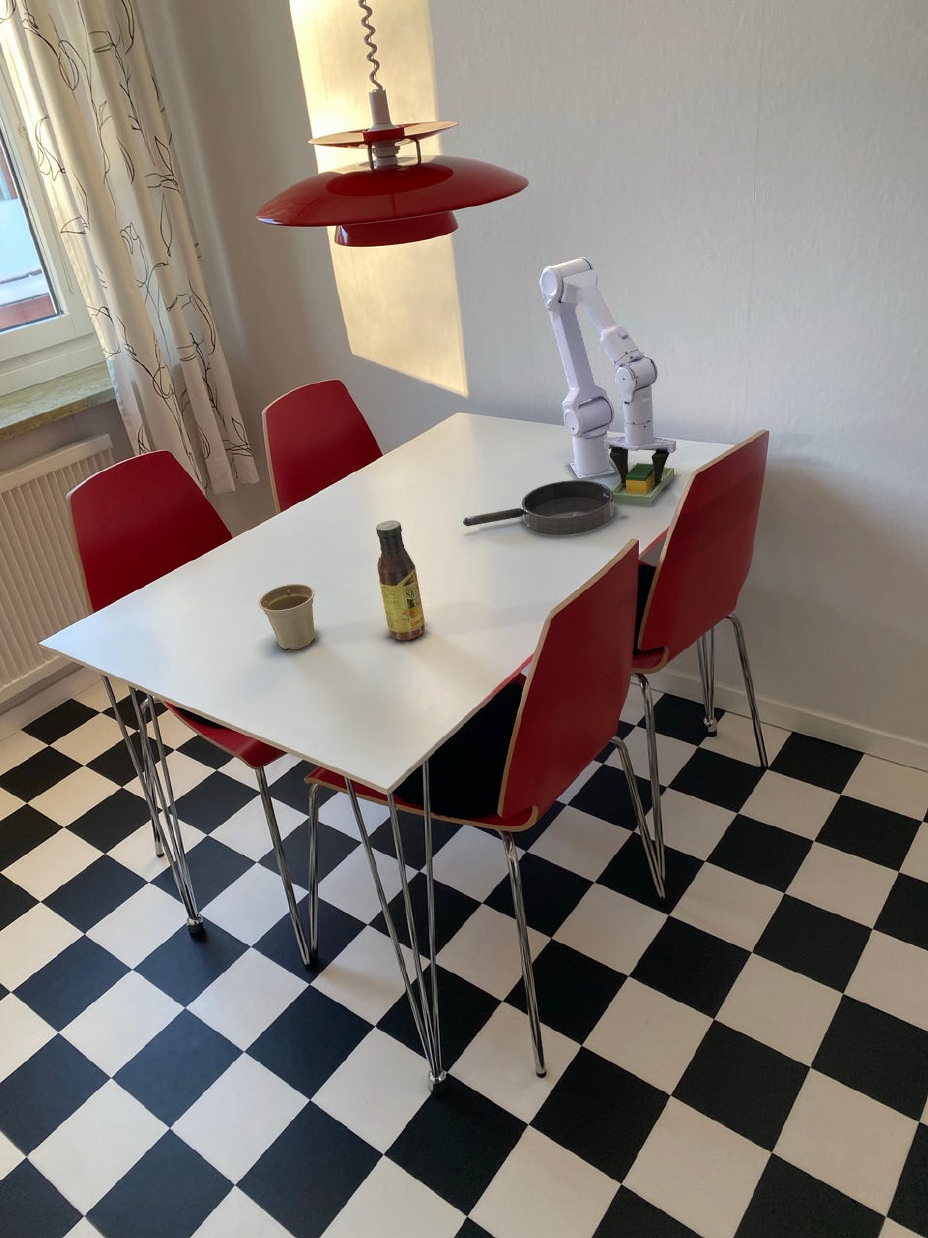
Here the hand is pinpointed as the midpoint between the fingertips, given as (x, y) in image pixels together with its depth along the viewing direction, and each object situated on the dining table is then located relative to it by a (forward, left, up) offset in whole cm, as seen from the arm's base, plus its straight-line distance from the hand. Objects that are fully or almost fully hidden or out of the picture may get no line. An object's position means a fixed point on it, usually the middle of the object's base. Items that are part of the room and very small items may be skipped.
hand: (641, 482), depth 203 cm
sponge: (0, 0, -1) cm, 1 cm away
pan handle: (+7, -32, 0) cm, 33 cm away
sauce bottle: (+41, -52, -2) cm, 66 cm away
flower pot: (+37, -71, -2) cm, 80 cm away
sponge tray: (0, 0, -1) cm, 1 cm away
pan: (+7, -17, -1) cm, 18 cm away
